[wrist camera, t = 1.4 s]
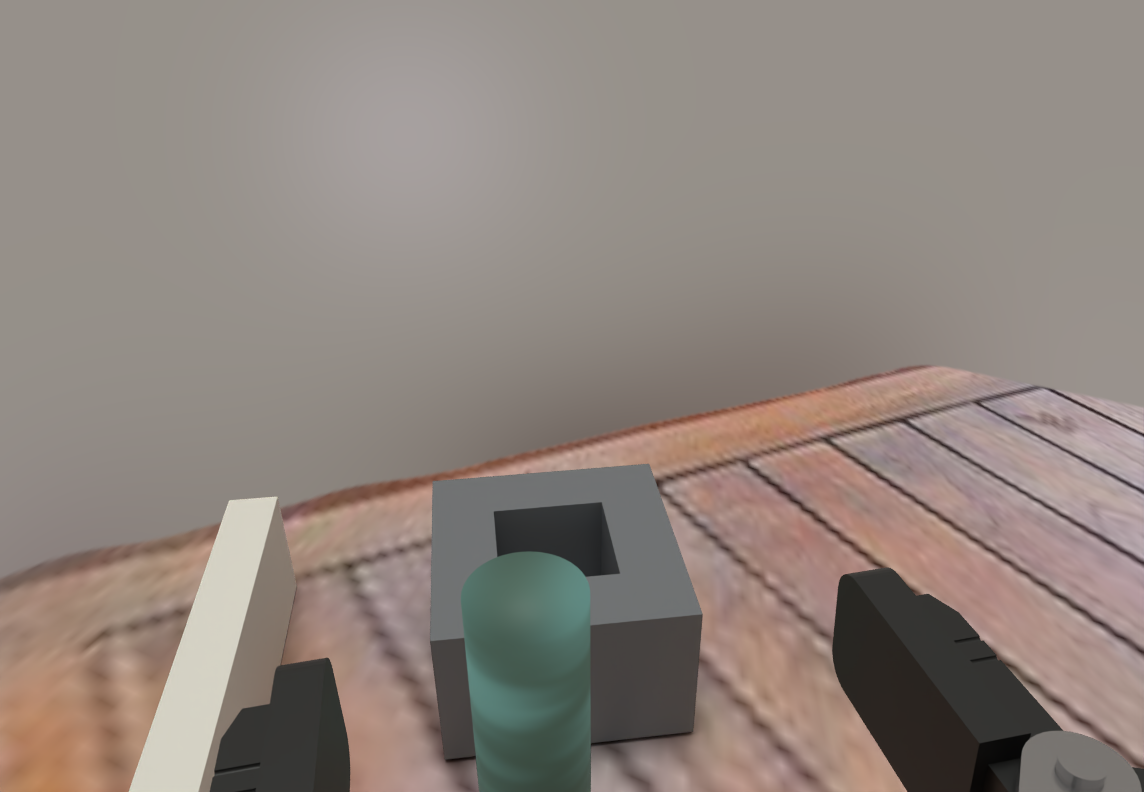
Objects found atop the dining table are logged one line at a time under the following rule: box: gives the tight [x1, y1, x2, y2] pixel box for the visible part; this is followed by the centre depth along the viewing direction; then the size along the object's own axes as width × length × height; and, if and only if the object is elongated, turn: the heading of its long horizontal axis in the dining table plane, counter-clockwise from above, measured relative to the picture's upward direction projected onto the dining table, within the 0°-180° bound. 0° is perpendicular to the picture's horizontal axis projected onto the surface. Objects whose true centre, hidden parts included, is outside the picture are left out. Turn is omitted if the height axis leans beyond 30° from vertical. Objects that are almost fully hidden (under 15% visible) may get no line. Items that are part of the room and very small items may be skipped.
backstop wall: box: [129, 497, 297, 792], centre depth 38 cm, size 2×22×6 cm, turn 7°
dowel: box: [461, 551, 591, 792], centre depth 29 cm, size 4×4×16 cm
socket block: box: [430, 464, 703, 759], centre depth 43 cm, size 11×11×7 cm
